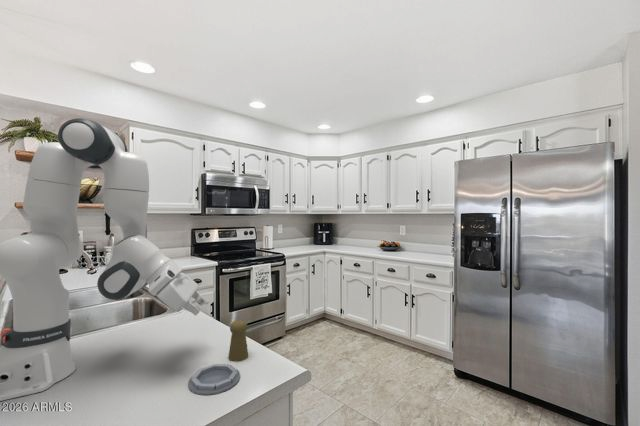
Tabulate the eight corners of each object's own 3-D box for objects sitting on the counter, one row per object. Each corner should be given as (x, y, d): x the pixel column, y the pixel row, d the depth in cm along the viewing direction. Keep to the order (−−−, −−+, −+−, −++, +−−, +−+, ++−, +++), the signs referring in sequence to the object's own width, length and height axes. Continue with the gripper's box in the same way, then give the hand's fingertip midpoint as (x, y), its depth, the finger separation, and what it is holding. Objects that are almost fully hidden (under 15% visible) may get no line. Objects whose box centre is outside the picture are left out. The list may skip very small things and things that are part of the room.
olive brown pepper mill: (242, 362, 89) (243, 325, 89) (224, 360, 90) (224, 324, 90) (251, 353, 95) (251, 318, 95) (234, 351, 96) (234, 317, 96)
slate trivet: (199, 402, 70) (199, 395, 70) (181, 379, 79) (181, 373, 79) (248, 381, 79) (248, 375, 79) (226, 363, 88) (226, 357, 88)
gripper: (167, 277, 98) (199, 305, 100) (146, 293, 78) (186, 328, 80) (182, 263, 99) (213, 291, 101) (165, 276, 79) (203, 310, 81)
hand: (201, 308), depth 90 cm, fingers open, 8 cm apart
